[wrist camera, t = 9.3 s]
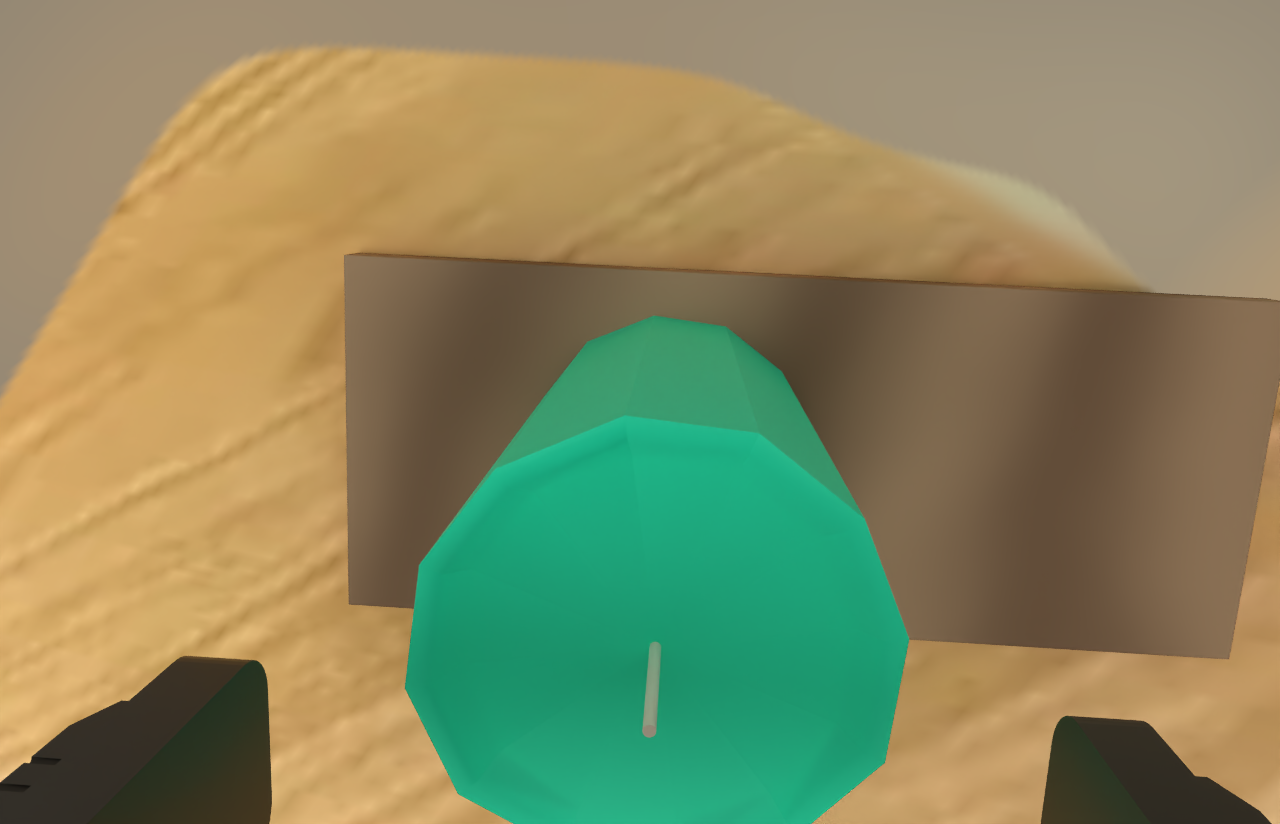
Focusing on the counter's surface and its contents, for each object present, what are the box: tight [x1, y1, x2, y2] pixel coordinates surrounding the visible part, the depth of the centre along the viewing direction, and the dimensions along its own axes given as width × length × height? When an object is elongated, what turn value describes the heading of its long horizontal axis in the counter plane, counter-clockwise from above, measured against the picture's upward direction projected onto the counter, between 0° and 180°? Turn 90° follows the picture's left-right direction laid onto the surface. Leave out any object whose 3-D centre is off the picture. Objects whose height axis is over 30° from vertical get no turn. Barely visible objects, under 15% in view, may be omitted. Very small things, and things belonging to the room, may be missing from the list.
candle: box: [405, 316, 909, 824], centre depth 16 cm, size 6×6×12 cm
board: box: [344, 253, 1280, 659], centre depth 22 cm, size 20×8×1 cm, turn 87°
